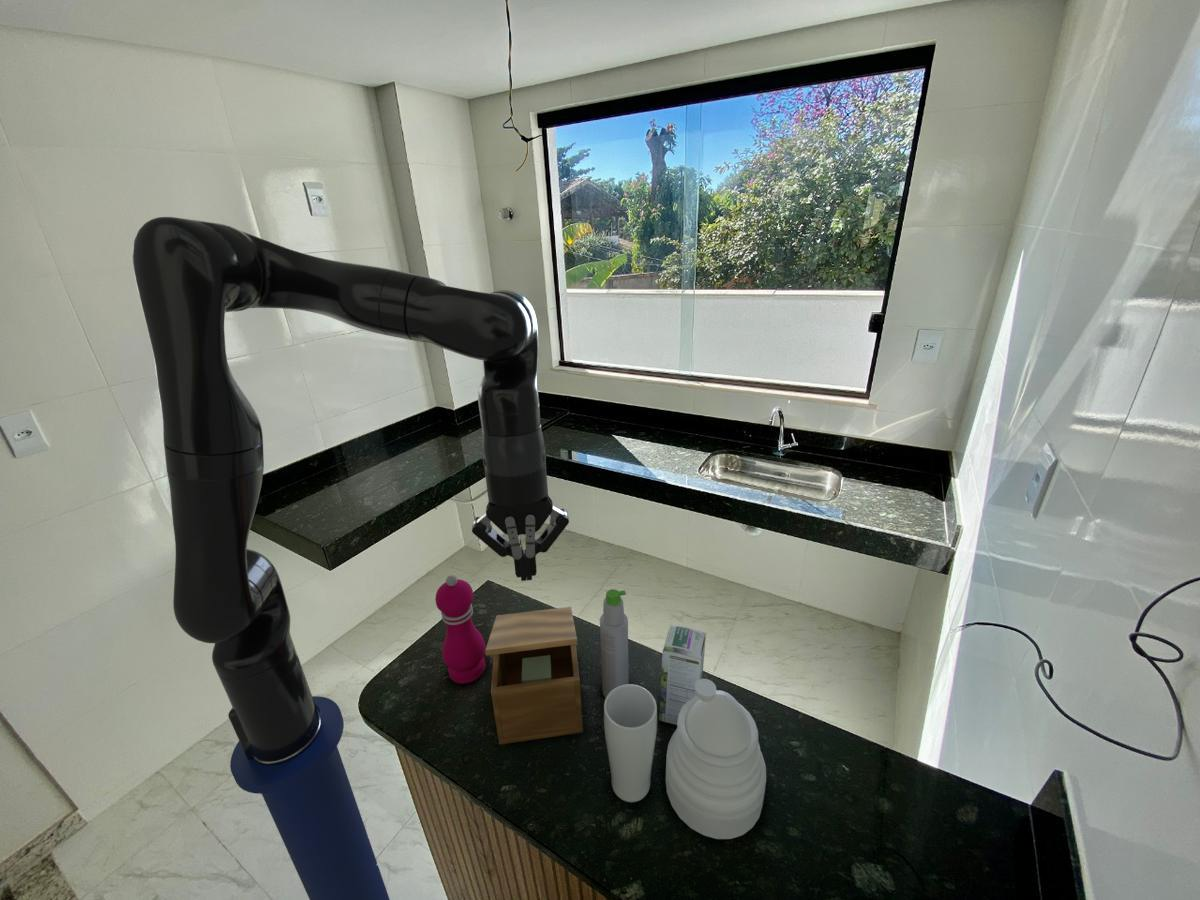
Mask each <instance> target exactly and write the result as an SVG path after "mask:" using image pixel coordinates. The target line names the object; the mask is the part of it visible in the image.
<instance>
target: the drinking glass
mask: <svg viewBox="0 0 1200 900" xmlns="http://www.w3.org/2000/svg"><path fill="white" fill-rule="evenodd" d="M603 731H604V732H603V733H604V738H605V745H606V751H607V757H608V762H609V763H608V764H609V769H610V781H611V787H612V790H613V792H614V794H615V795H616V796H617V797H618V798H619V799H620V800H622V801H624V802H627V803H636V802H639V801H641V800H643V799H644V798H645V797H646V796H647V795H648V793H649V791H650V789H651V781H652V777H651V776H652V769H653V762H654V755H655V749H656V743H657V742H656V741H657V734H658V733H657V732H658V705H657V702H656V699H655V697H654V695H653V694H652V693H651V692H650V691H649V690H648V689H646V688H644V687H643V686H641V685H637V684H634V683H629V684H626V685H621V686H618V687H616V688H614V689H613V690H612V691H611V692H610V693H609V694H608V695H607V697H606V698H605V699H604V702H603Z"/></svg>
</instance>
